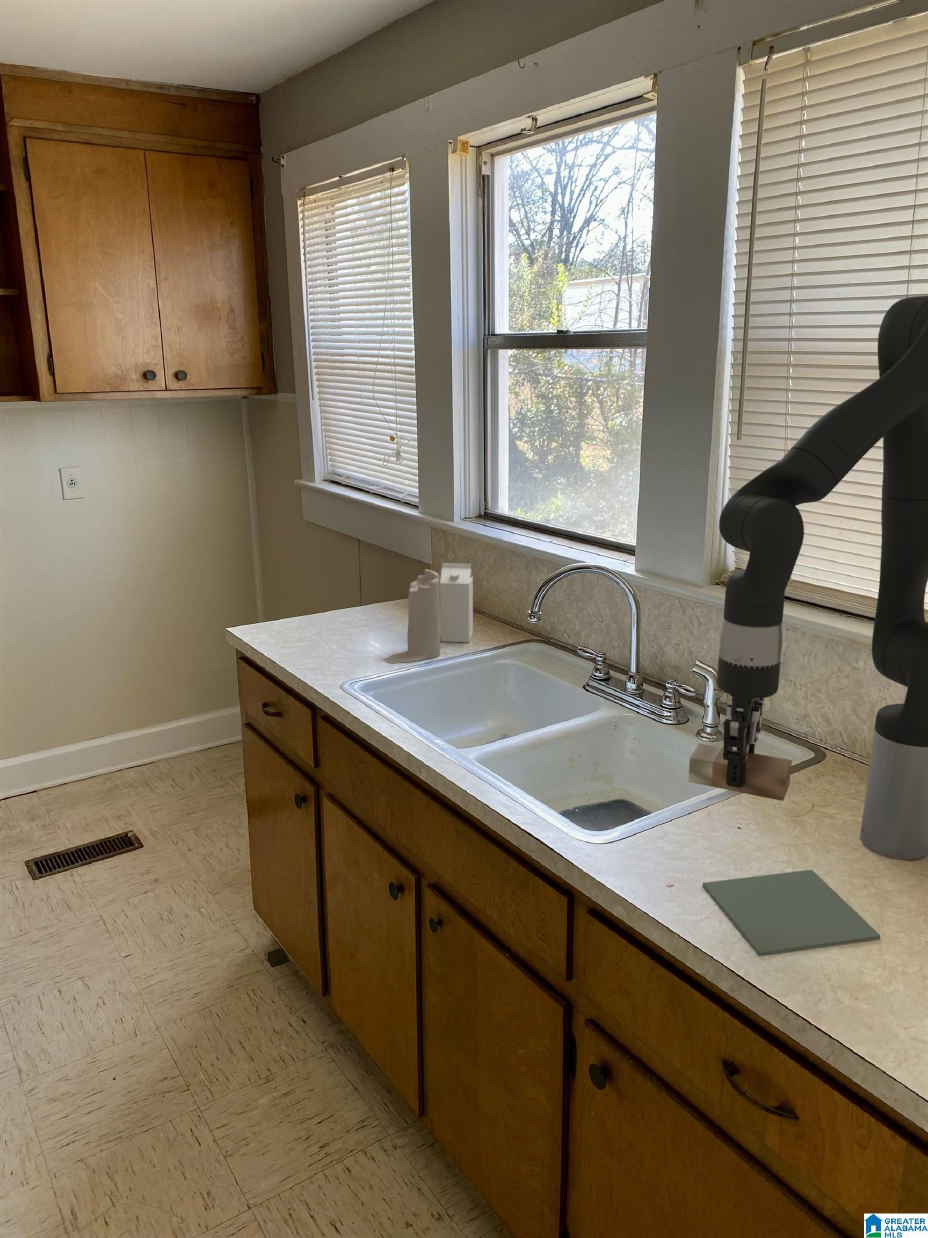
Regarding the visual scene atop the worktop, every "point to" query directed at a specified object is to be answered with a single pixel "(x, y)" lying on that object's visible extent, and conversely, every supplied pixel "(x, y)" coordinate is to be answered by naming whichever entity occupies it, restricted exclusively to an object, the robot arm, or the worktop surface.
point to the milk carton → (456, 602)
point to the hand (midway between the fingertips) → (739, 776)
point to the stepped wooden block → (760, 776)
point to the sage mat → (789, 912)
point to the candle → (422, 620)
